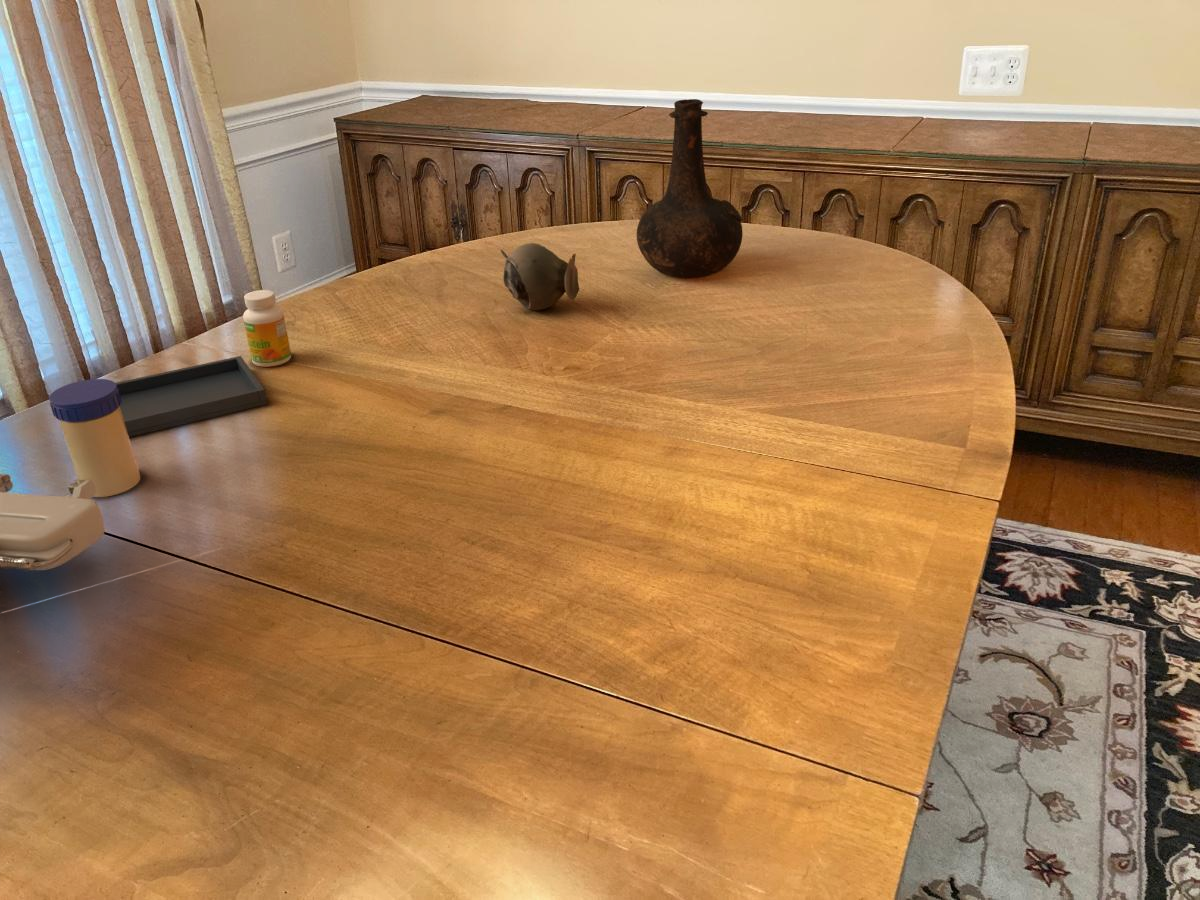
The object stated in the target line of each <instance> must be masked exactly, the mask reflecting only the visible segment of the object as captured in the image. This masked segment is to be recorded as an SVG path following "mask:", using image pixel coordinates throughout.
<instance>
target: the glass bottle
mask: <svg viewBox="0 0 1200 900" xmlns="http://www.w3.org/2000/svg"><path fill="white" fill-rule="evenodd" d="M703 104H704V101H702V100H701V99H697V98H690V99H680V100H676V101H675V102H674V111H672V112H670V113H669V114H668V116H669V118H672V119H674V123H673V124H674V128H673V129H674V130H673V142H672V152H671V163H670V169H669V177H668V183H667V188H666V191H665V194H664V196H663V197H662V198H661V199H660V200H658V201H656V202H655V203H653V204H651V206H649V207H648V208H647V209H646V210H645V211H644V213H643V214H642V215H641V217H640V219H639V221H638V223H637V227H636V242H637V246H638V249H639V251H640V253H641V255H642V256H643V258H644V260H645V261H646V262H647V263H648V264H649V266H651V267H652V268H653V269H654V270H656V271H658V272H659V273H661V274H663V275H666V276H669V277H671V278H678V279H701V278H706V277H710V276H713V275H715V274H717V273H719V272H721V271H723V270H724V269H725V268H727V267H728V266H729V265H730V264H731V263H732V262H733V261H734V259H735V258H736V257H737V255H738V253H739V251H740V248H741V244H742V241H743V225H742V222H743V217H742V216H741V214H740V213H739V211H738V210H737V209H736V207H735V206H734V205H733V204H732V203H731V202H730V201H728V200H725V199H723V200H720V199H718V198H714V197H712V195H711V194H710V192H709V188H708V187H709V186H708V183H707V177H706V172H705V170H706V169H705V161H704V150H703V149H704V148H703V127H702V125H703V122H702V121H703V119H702V118H703V117H707V116H708V114H709V113H708V112H707V111H705V110H702V107H703Z"/></svg>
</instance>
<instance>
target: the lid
mask: <svg viewBox="0 0 1200 900" xmlns="http://www.w3.org/2000/svg"><path fill="white" fill-rule="evenodd" d="M48 400H49V404H50V409H51V412H52V414H53V417H54V418H55V419H56V420H58V421H59V420H61V421H66V422H78V421H86V420H91V419H95V418H99V417H102V416H105V415H107V414H109V413H111V412H113V411H115V410H116V409H117V408H118V407H119V406H120V405H121V402H122V400H121V396H120V393H119V390H118V388H117V385H116V382H115V381H113V380H111V379H107V378H91V379H85V380H84V379H83V380H78V381H75V382H71V383H68V384H66V385H65V384H64V385H63V386H61V387H58V388H57V389H55V390H54V391H52V392H51V393H50V395H49V396H48Z"/></svg>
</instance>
